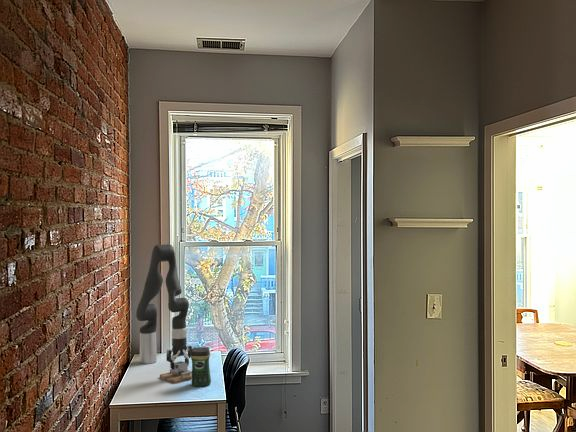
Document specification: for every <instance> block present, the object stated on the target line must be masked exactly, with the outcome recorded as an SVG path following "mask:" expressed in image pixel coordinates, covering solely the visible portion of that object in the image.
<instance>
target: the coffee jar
mask: <svg viewBox="0 0 576 432" xmlns="http://www.w3.org/2000/svg"><path fill="white" fill-rule="evenodd" d="M210 357H211V352H210V347H209V346H205V347H204V346H203V347H202V346H198V347H197V346H196V347H192V350H191V357H190V359H191V366H192V367H191V371H192V378H191V380H190V381H191V385H192V386H193V387H207V386H209V385H211V383H212V379H211V377H212V376H211V369H210Z"/></svg>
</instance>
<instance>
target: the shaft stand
mask: <svg viewBox="0 0 576 432" xmlns="http://www.w3.org/2000/svg"><path fill="white" fill-rule="evenodd" d="M178 364H182V363H178ZM159 378H160V379H162V380H165V381H167V382H170V383H172V384H174V385H175V384H179V383H183V382H188V381H191V378H192V370H191V371H190V370H188V372H185V373H181V376H180V377H177V376H174V375H172V369H171V368H169V372H166V373H162V374H159Z"/></svg>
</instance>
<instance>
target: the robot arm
mask: <svg viewBox="0 0 576 432" xmlns="http://www.w3.org/2000/svg"><path fill="white" fill-rule="evenodd" d="M161 262H162V263H163V262H168V264H169V265H168V267H169V268H168V272H167V274H166V278H165V286H166V290H167V294H168V303H167V305H168V306H167V307H168V310H169V311H170V313H178V315H175V316H173V317H172V319H171V349H166V361H167V362H169V365H170V366H169V367H170V368H169V369H172V370H174V369H175V366H174V363H175V361H176V359H177V358H179V357H182V356H183V357H184V362H186V363H188V366H190V365H189V364H190V361H189V360H190V359H191V350H192V348H193V347H192V345H190V344H189V345H187V343H188V342H187V328H186V327H187V325H186V324H187V322H186V321H187V315H188V312H189V311H188V310H189V307H190V302H189V300H188V299H187V298H186V297H179V298H176V297H177V296H180V295H181V294H182V287H181V284H180V283H181V282H180V280H179V276H178V275H179V274H178V268H177V259H176V252H175V248H174V246H173V245H172V244H156V245H154V247H153V248H152V252H151V257H150V264H149V267H148V272H147V276H146V279H145V281H144V286H143V291H142V294H141V297H140V300H139V301H138V304H137V308H136V310H135V311H136V312H135V313H136V314H135V316H136V320H138V321H140V322H146V323H145V324H143V325H142V326H141V327H139V362H140V364H142V365H143V364H148V365H149V364H154V363H157V361H158V358H157V352H158V351H157V325H158V309H157V306H156V304H154V303H151V301H152V300H153V299H154V298H156V296H158V294H159V293H160V291H161V289H162V286H163V283H164V282H163V281H164V278H163V275H162V274H161V272H160V269H159V264H160V263H161Z"/></svg>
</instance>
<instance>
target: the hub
mask: <svg viewBox="0 0 576 432" xmlns="http://www.w3.org/2000/svg"><path fill="white" fill-rule="evenodd" d="M178 363H182V364H178ZM174 366H175V369H174V370H172V375H174V376H177V377H180V376H181V373H185V372H188V369H189V368H188V367H189V365H188V363H186V362H185V361H182V360H180V361H176V362H175V361H174Z"/></svg>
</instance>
